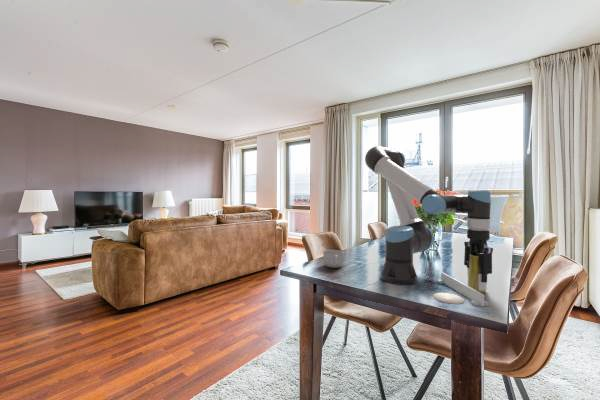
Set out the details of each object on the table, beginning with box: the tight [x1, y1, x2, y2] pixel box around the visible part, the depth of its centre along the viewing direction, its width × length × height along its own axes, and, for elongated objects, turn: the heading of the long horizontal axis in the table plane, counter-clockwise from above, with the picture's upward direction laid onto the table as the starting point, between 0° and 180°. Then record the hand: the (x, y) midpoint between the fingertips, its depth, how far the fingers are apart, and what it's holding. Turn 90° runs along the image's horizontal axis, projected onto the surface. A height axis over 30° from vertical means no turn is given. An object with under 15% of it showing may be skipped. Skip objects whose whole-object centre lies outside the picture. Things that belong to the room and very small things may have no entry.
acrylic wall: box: [436, 272, 490, 307], centre depth 108 cm, size 5×26×4 cm, turn 2°
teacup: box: [323, 249, 345, 269], centre depth 143 cm, size 14×11×8 cm
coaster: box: [432, 292, 465, 305], centre depth 102 cm, size 10×10×1 cm
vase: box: [467, 254, 487, 294], centre depth 110 cm, size 6×6×14 cm
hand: (476, 287), depth 111 cm, fingers closed on vase, 6 cm apart
